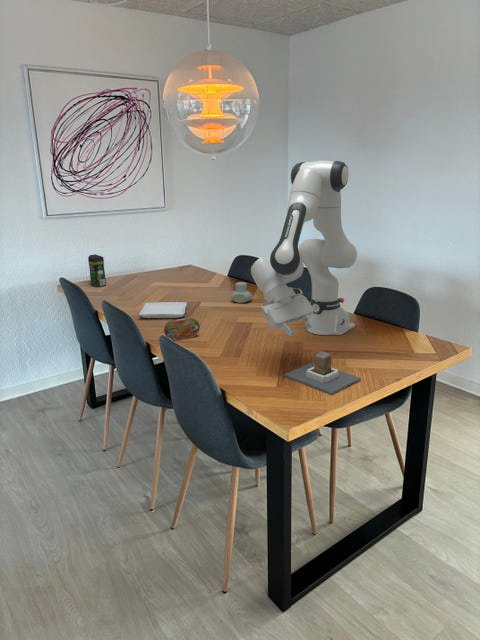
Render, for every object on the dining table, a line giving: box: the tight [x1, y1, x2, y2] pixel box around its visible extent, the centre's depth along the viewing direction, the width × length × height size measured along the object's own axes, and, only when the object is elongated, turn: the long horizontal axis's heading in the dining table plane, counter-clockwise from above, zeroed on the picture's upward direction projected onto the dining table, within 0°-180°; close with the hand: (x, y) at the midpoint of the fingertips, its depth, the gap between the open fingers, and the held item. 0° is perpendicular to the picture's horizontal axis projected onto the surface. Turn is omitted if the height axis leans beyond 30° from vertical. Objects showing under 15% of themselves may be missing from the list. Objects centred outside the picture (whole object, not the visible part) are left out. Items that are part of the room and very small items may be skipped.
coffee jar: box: [87, 254, 107, 288], centre depth 297 cm, size 10×8×19 cm
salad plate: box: [139, 301, 188, 319], centre depth 242 cm, size 21×21×3 cm
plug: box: [313, 351, 333, 376], centre depth 167 cm, size 4×4×8 cm
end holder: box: [283, 361, 362, 395], centre depth 168 cm, size 16×20×3 cm
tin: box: [163, 317, 201, 342], centre depth 207 cm, size 15×3×8 cm, turn 115°
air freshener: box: [230, 281, 253, 304], centre depth 260 cm, size 11×8×10 cm
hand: (300, 331), depth 171 cm, fingers open, 8 cm apart
